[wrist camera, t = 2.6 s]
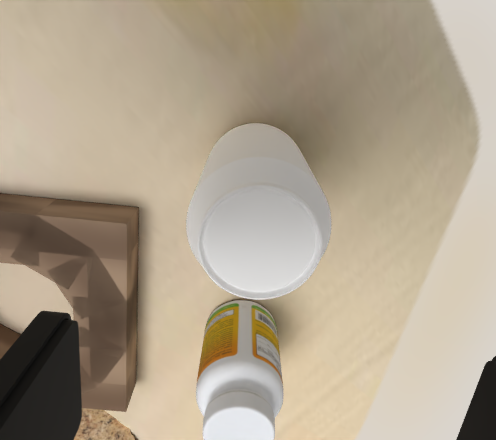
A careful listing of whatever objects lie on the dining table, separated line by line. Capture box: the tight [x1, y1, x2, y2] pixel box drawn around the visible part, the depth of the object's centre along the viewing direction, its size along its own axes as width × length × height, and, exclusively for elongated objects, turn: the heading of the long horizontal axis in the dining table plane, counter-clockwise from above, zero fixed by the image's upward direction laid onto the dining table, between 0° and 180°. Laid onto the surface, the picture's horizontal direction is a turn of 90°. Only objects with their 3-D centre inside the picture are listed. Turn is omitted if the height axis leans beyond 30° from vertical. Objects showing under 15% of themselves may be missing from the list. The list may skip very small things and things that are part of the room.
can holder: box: [0, 193, 139, 412], centre depth 30 cm, size 15×15×3 cm
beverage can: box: [186, 123, 331, 300], centre depth 22 cm, size 6×6×12 cm
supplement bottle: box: [196, 300, 283, 440], centre depth 28 cm, size 5×5×10 cm
